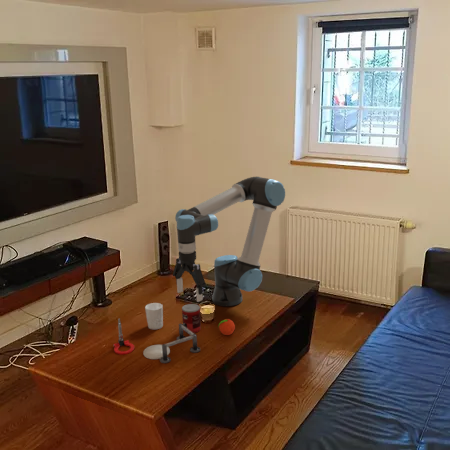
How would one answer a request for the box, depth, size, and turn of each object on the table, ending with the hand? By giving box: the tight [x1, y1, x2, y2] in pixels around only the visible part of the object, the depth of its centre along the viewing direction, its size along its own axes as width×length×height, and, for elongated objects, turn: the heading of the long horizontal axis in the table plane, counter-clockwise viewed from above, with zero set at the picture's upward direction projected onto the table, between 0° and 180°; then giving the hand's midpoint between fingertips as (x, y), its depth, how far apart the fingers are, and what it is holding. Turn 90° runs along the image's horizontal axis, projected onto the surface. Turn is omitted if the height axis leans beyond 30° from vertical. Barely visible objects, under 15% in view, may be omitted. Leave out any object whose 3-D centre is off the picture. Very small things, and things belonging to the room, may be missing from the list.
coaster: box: [142, 344, 171, 360], centre depth 229 cm, size 11×11×1 cm
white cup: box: [144, 302, 164, 330], centre depth 251 cm, size 8×8×10 cm
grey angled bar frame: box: [159, 323, 202, 364], centre depth 230 cm, size 18×16×7 cm
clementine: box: [217, 318, 236, 336], centre depth 241 cm, size 8×7×7 cm
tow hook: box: [113, 318, 135, 356], centre depth 231 cm, size 8×13×9 cm
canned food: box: [181, 303, 202, 334], centre depth 246 cm, size 8×8×11 cm
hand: (189, 296), depth 243 cm, fingers open, 13 cm apart
